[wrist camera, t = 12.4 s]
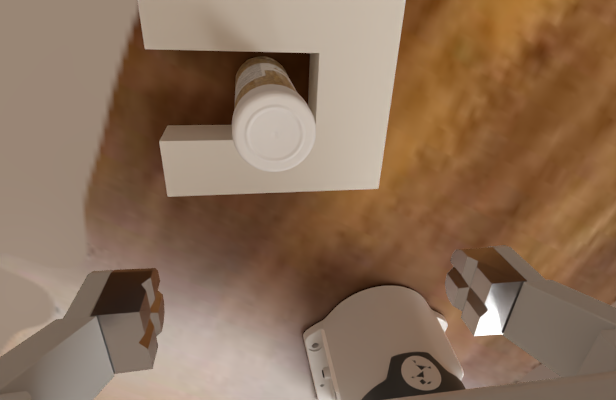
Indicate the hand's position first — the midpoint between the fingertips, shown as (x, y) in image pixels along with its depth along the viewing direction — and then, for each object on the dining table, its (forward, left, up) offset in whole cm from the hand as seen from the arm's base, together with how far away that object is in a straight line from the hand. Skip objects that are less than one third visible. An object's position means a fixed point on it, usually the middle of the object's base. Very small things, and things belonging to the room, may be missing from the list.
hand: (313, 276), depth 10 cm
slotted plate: (0, -1, -25) cm, 25 cm away
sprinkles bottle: (0, 0, -25) cm, 25 cm away
